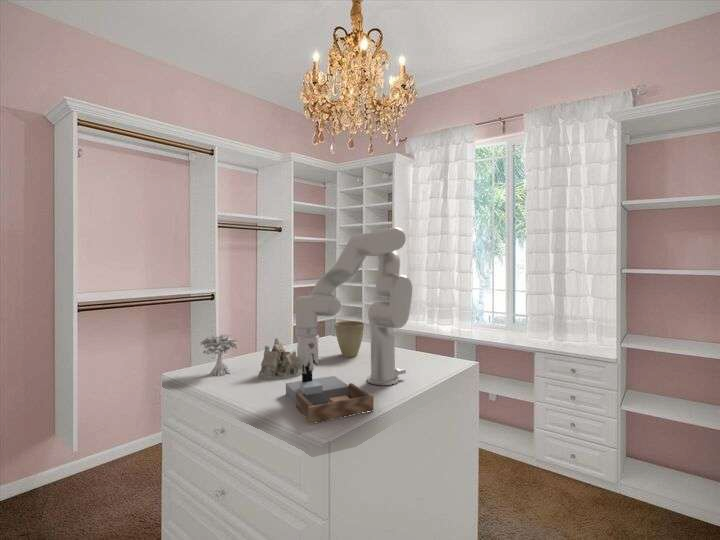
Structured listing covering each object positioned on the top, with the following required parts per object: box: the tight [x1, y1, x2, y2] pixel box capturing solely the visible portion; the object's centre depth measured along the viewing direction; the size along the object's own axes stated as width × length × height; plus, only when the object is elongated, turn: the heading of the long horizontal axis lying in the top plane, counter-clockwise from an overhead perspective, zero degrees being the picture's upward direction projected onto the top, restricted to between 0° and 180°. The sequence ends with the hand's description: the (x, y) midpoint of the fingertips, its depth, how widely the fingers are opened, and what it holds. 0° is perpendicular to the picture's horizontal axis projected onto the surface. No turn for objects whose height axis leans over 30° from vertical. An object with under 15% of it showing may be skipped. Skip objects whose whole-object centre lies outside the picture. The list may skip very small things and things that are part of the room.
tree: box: [200, 333, 238, 377], centre depth 174 cm, size 18×16×17 cm
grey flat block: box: [285, 375, 349, 405], centre depth 145 cm, size 19×14×4 cm
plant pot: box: [334, 320, 365, 358], centre depth 203 cm, size 15×15×16 cm
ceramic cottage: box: [258, 337, 304, 381], centre depth 171 cm, size 16×16×15 cm
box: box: [295, 383, 374, 425], centre depth 132 cm, size 21×15×5 cm
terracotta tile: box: [328, 396, 350, 403], centre depth 135 cm, size 6×6×2 cm
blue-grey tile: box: [300, 380, 323, 395], centre depth 138 cm, size 6×6×2 cm
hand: (307, 383), depth 142 cm, fingers closed
